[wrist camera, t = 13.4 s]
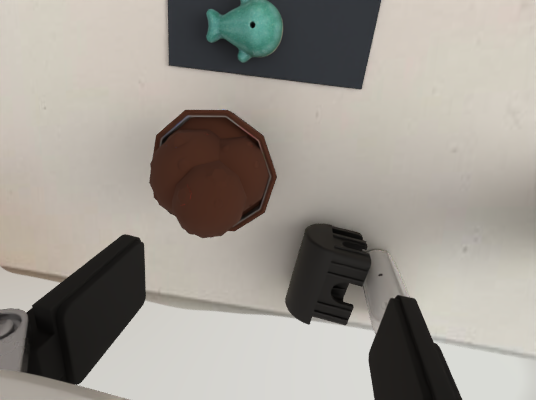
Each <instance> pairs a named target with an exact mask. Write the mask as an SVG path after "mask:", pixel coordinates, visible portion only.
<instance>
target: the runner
mask: <svg viewBox="0 0 536 400" xmlns="http://www.w3.org/2000/svg"><path fill="white" fill-rule="evenodd" d="M267 1H269V2H271V3H272V4H273V5H274V6H275V7H276V8H277V10H278V11H279V13H280V15H281V18H282V22H283V34H282V39H281V42H280V44H279V46H278V47H277V49H276V50H275V51H274V52H273V53H271V54H270V55H268V56H265V57H261V58H258V57H252V58H250V59H249V60H248V61H246V62H244V63H242V62H240V61H239V60H238V53H239V50H238V48H237V47H236V46H234V45H233V44H231V43H230V42H228V41H227V40H225V39H219V40H218V41H216V42H213V43H210V42H209V41H208V40H207V38H206V35H207V32H208V19H207V15H206V13H207V11H208V10H209V9H214V10H215V11H217V12H218V13H220V14H221V15H225V14H226V13H228V12H229V11H231V10H233V9H235V8H237V7H239V6H240V4H241V2H240V0H168V34H169V65H171V66H179V67H187V68H195V69H203V70H211V71H219V72H227V73H235V74H243V75H251V76H259V77H267V78H275V79H283V80H291V81H299V82H307V83H315V84H323V85H331V86H339V87H347V88H355V89H362V84H363V80H364V75H365V71H366V66H367V62H368V57H369V53H370V48H371V44H372V39H373V35H374V30H375V26H376V21H377V17H378V12H379V8H380V3H381V0H267Z"/></svg>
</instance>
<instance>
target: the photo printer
mask: <svg viewBox="0 0 536 400" xmlns="http://www.w3.org/2000/svg"><path fill="white" fill-rule="evenodd" d="M366 253H369V254H370V257H371V267H370V269H369V272H368V274H367V276H366V279H365V281H364V284H363V287H364V292H365V297H366V301H367V306H368V310H369V315H370V319H371V323H372V326H373V329H374V331H375V334H376V333H377V331H378V328H379V325H380V323H381V320H382V318H383V315H384V312H385V310H386V307H387V305H388V302H389V300H390V298H395V297H396V296H397V295H401V296H405V297H410V296H409V294H408V291H407V289H406V287H405V284H404V282H403V279H402V277H401V275H400V273H399V271H398V268H397V267H396V265H395V262H394V261H393V259H392V257H391V256H390V254H389V253H388V252H387V251H382V250H371V251H369V252H366Z"/></svg>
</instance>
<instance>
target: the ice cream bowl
mask: <svg viewBox="0 0 536 400" xmlns="http://www.w3.org/2000/svg"><path fill="white" fill-rule="evenodd" d="M150 165H151V174H150V182H149V183H150V185H151V187H152V190H153V192H154V198H155V199H156V200H157V201H158V203H159V205H161V206H162V207H163V208H165V209H166V210H167V211H168V212H169V213H170V214H173V215H175V216H176V217H177V219H178V221H179V223H180V225H181V227H182V228H183V229H185V230H186V231H187V232H188V233H189V234H195V235H197V236H199V237H201V238H207V237H215V236H222V235H223V234H224V233H226V232H227V231H236V230H237V229H239V228H241V227H242V226H244V225H245V224H247V223H249V222H250V221H252V220H253V219H255V218H257V217H258V216H260V215H261V214H263V213H265V210H266V207H267V204H268V201H269V198H270V195H271V192H272V189H273V187H274V184H275V181H276V178H277V176H276V172H275V169H274V166H273V163H272V160H271V157H270V154H269V151H268V148H267V145H266V142H265V139H264V136H263V135H262V134H261V133H259V132H258V131H256V130H255V129H254V128H252V127H251V126H250V125H248V124H247V123H246V122H244V121H243V120H242V119H240V118H239V117H238V116H236V115H235V114H234V113H232V112H231V111H228V110H185V111H184V112H182V113H181V114H180V115H179V116H178V117H177V118H176V119H174V120H173V121H172V122H171V123H170V124H169V125H167V126H166V127H165V128H164V129H163V130H162V131H161V132H159V133H158V134H157V135H156V140H155V147H154V153H153V160H152V162H151V164H150Z"/></svg>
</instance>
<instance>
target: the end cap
mask: <svg viewBox="0 0 536 400" xmlns="http://www.w3.org/2000/svg"><path fill="white" fill-rule="evenodd" d="M362 249H364V250H366V249H367V244H366V241H363V237H362V235H361V234H360V233H357V232H353V231H350V230H346V229H342V228H338V227H334V226H332V225H328V224H313V225H310V226H309V227H307V228H306V230H305V233H304V236H303V240H302V243H301V247H300V250H299V254H298V257H297V260H296V264H295V267H294V271H293V274H292V278H291V281H290V284H289V288H288V291H287V295H286V298H285V302H286V306H287V308H288V310H289V312H290V313H291V314H292V315H293V316H294V317H295V318H297V319H298V320H300V321H302V322H303V323H306V324H310V321H311V318H312V316H313V317H316V318H320V319H324V320H328V321H331V322H335V323H339V324H342V325H346V324H347V322H348V320H349V317H350V315H351V312H352V310H353V308H354V307H353V304H349V303H345V302H343V297H344V295H345V292H346V290H347V287H348V285H349V283H351V284H355V285H358V286H363V284H364V281H365V279H366V276H367V274H368V272H369V269H370V267H371V257H370V254H369V253H366V252H362Z"/></svg>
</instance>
